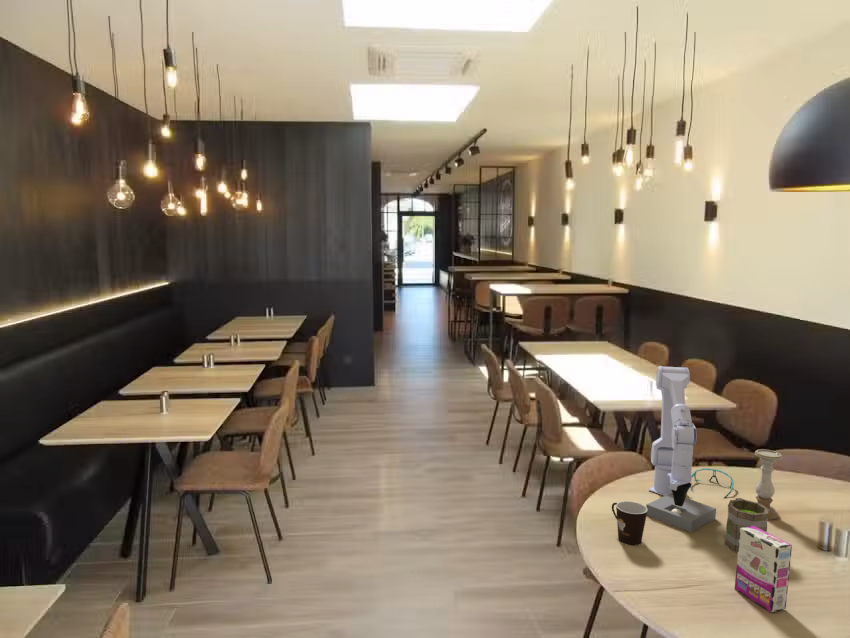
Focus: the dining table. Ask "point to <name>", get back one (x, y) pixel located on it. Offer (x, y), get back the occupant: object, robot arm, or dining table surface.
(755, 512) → the mug
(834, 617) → the dining table surface
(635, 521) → the coffee mug
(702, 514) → the deck
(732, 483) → the teal safety glasses
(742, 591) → the candy bar box
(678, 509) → the ball
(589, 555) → the dining table surface
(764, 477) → the candle holder
